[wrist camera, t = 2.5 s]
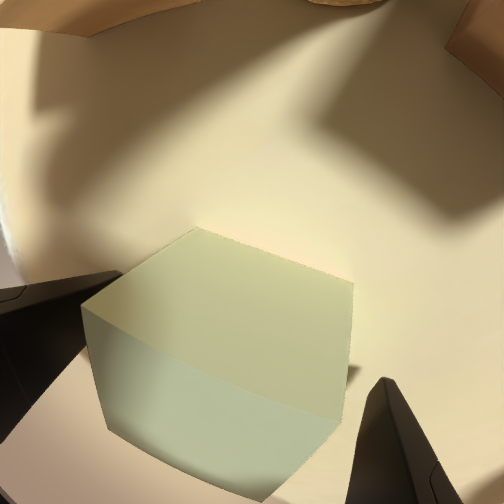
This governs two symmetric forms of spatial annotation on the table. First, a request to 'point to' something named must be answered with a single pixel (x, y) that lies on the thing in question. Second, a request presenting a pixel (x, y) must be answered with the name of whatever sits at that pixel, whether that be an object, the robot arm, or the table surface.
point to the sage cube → (222, 360)
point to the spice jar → (343, 2)
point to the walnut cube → (481, 41)
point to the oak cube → (78, 14)
